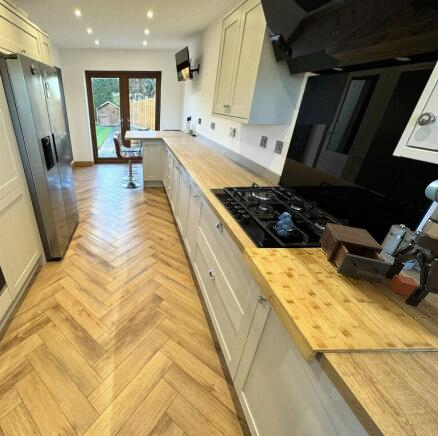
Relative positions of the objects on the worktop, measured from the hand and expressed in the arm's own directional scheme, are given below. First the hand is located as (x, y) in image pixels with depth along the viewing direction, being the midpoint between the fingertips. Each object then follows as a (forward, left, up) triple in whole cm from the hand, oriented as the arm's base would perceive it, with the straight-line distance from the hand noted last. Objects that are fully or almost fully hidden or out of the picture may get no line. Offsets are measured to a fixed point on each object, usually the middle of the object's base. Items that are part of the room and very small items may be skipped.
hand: (399, 290), depth 79 cm
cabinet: (+12, -17, 0) cm, 21 cm away
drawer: (+12, -5, +1) cm, 13 cm away
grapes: (+34, -23, 0) cm, 41 cm away
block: (0, 0, 0) cm, 0 cm away
